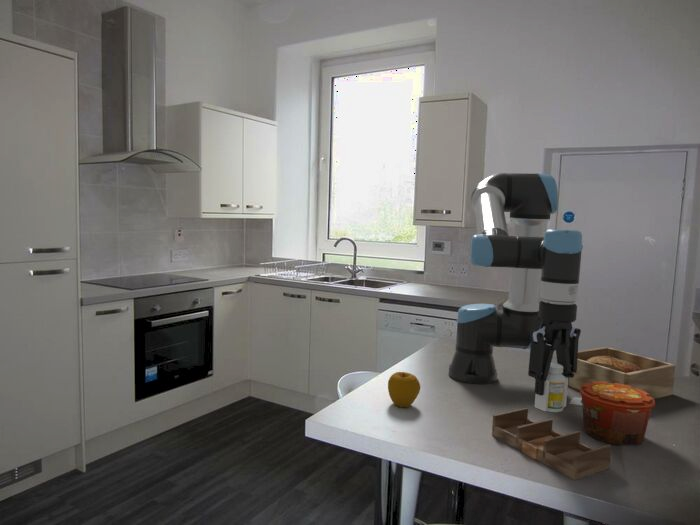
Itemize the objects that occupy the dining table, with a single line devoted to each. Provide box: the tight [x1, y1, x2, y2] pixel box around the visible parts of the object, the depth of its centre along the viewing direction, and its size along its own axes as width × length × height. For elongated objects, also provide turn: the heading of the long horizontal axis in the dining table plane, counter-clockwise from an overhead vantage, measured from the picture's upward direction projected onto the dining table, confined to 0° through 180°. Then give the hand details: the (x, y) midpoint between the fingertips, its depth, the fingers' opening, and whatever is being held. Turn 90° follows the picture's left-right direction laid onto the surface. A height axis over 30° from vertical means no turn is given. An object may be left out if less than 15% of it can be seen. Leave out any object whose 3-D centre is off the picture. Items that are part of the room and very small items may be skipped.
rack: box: [491, 407, 612, 481], centre depth 108 cm, size 22×11×5 cm, turn 29°
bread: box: [587, 356, 642, 373], centre depth 152 cm, size 20×18×10 cm
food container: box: [578, 381, 656, 447], centre depth 118 cm, size 16×16×11 cm
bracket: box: [568, 396, 582, 407], centre depth 139 cm, size 7×10×4 cm, turn 57°
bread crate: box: [568, 346, 676, 400], centre depth 152 cm, size 22×24×9 cm
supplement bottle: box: [546, 362, 566, 413], centre depth 107 cm, size 5×5×10 cm
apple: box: [387, 371, 421, 408], centre depth 132 cm, size 9×8×9 cm
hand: (550, 406), depth 107 cm, fingers closed on supplement bottle, 5 cm apart
